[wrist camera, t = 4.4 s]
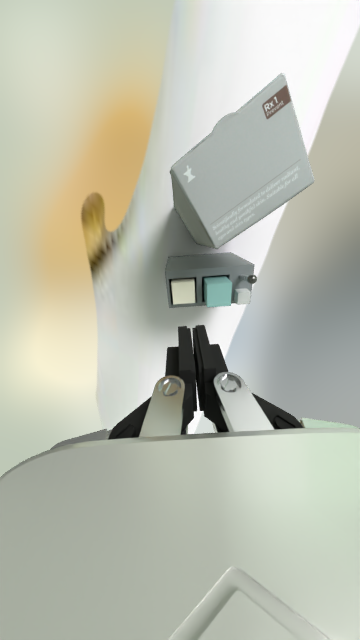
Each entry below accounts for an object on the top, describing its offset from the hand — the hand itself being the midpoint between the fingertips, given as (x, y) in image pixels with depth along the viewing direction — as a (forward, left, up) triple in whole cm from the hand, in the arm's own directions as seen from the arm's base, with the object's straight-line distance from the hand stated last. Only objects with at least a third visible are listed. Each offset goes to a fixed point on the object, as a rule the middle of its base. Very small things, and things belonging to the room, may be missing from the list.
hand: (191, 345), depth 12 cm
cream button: (0, 0, -13) cm, 14 cm away
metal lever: (-1, +7, -11) cm, 13 cm away
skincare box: (-9, +4, -21) cm, 24 cm away
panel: (0, +3, -21) cm, 21 cm away
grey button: (+1, +7, -11) cm, 13 cm away
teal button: (0, +4, -12) cm, 13 cm away
